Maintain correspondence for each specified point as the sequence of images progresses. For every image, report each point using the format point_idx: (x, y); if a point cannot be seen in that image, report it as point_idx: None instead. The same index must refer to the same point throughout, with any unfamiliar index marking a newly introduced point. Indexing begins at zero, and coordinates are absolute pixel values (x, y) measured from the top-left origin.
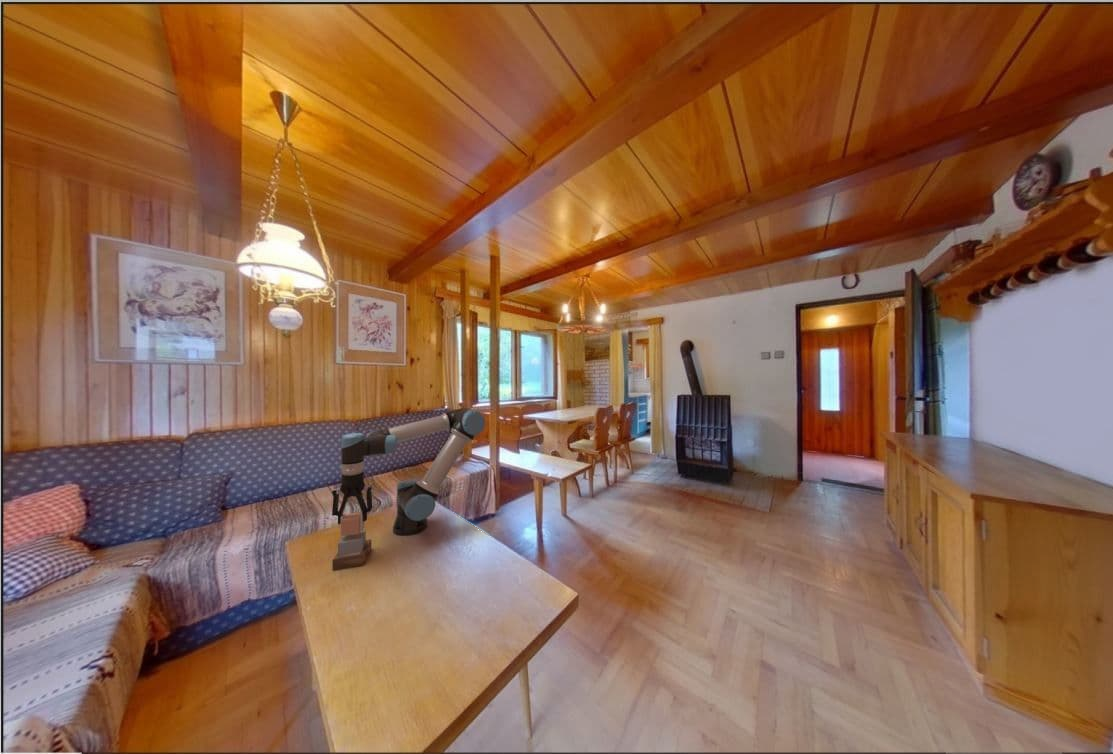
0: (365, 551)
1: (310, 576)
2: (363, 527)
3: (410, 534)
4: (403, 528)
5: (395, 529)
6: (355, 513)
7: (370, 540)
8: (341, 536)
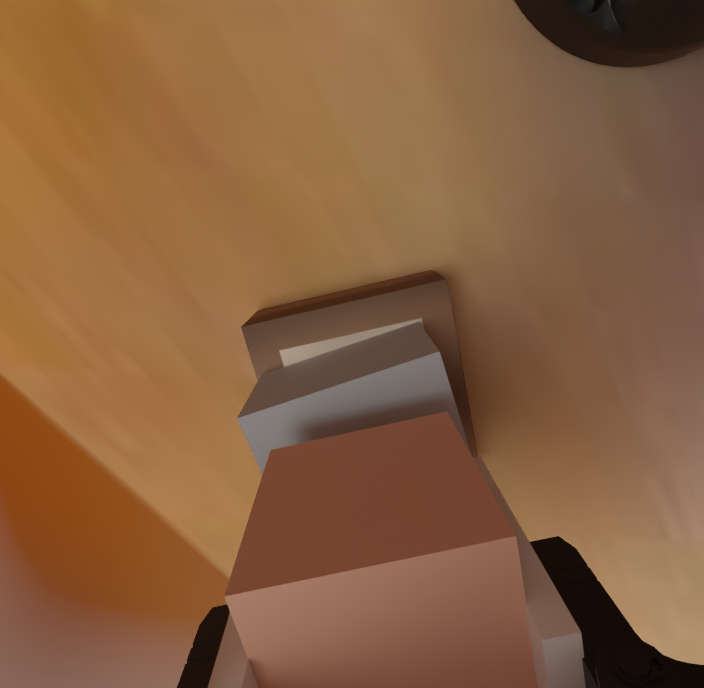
0: (472, 435)
1: (219, 524)
2: None
3: (687, 52)
4: (666, 30)
5: (563, 7)
6: (385, 588)
7: (445, 293)
8: (261, 469)
